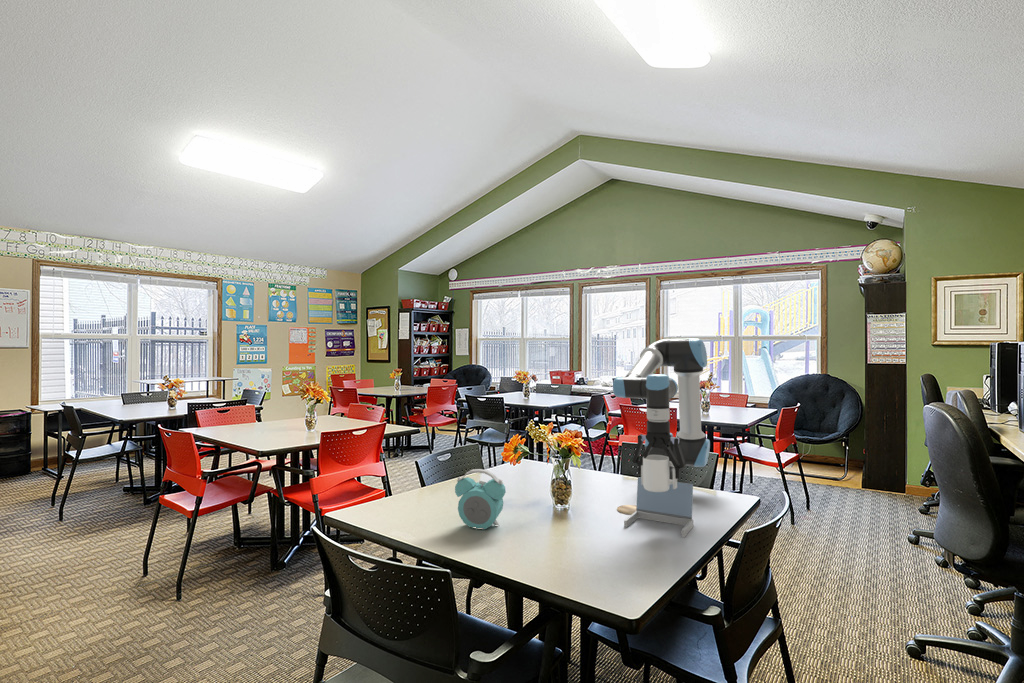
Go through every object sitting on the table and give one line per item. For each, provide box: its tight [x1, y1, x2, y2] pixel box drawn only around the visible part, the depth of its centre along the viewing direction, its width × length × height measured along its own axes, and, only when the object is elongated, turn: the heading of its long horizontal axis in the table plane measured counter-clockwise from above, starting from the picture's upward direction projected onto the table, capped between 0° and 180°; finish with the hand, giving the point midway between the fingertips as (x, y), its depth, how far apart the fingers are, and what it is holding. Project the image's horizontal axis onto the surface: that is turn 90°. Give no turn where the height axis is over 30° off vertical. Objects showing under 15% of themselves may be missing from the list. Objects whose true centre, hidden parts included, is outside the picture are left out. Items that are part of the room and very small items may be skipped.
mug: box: [643, 455, 675, 492], centre depth 184 cm, size 9×12×11 cm
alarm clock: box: [454, 468, 507, 530], centre depth 187 cm, size 17×10×20 cm, turn 74°
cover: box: [636, 476, 694, 520], centre depth 192 cm, size 12×19×1 cm
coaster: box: [616, 504, 637, 516], centre depth 204 cm, size 11×11×1 cm
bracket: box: [623, 511, 694, 538], centre depth 186 cm, size 13×20×2 cm, turn 59°
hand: (659, 485), depth 185 cm, fingers closed on mug, 10 cm apart
